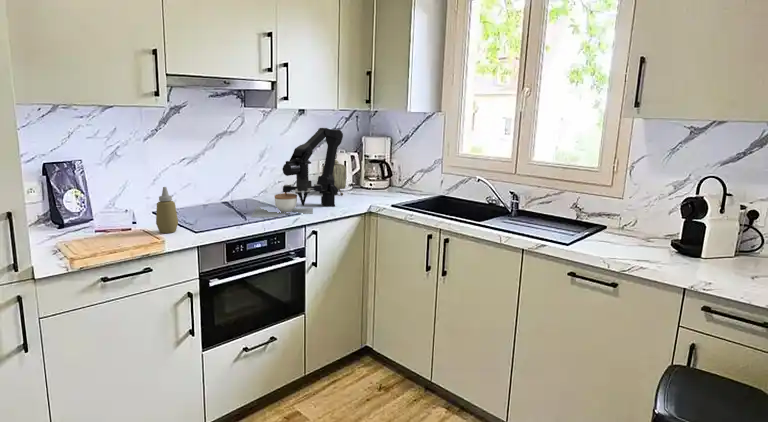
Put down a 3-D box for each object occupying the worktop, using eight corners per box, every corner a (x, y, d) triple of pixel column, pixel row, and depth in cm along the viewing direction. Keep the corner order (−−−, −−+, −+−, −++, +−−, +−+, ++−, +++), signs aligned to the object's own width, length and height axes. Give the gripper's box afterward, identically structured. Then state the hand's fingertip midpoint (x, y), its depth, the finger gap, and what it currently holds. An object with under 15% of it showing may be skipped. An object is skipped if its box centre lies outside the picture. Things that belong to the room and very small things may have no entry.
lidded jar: (301, 211, 240) (300, 192, 238) (281, 214, 233) (280, 194, 231) (291, 207, 248) (290, 189, 246) (271, 210, 242) (270, 191, 240)
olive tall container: (346, 195, 287) (346, 152, 282) (331, 196, 282) (331, 153, 277) (335, 192, 299) (335, 150, 294) (321, 193, 295) (321, 150, 290)
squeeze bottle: (174, 228, 202) (171, 184, 199) (182, 232, 197) (179, 187, 193) (153, 231, 197) (150, 186, 193) (161, 235, 191) (157, 189, 188)
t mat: (312, 206, 255) (312, 205, 255) (312, 217, 230) (312, 216, 230) (257, 207, 251) (257, 206, 251) (250, 218, 226) (250, 216, 226)
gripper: (281, 176, 229) (282, 209, 232) (322, 175, 232) (322, 208, 235) (282, 173, 240) (283, 204, 243) (321, 172, 242) (322, 204, 245)
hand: (303, 205), depth 241 cm, fingers closed
